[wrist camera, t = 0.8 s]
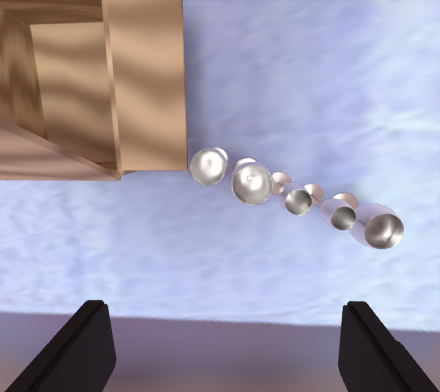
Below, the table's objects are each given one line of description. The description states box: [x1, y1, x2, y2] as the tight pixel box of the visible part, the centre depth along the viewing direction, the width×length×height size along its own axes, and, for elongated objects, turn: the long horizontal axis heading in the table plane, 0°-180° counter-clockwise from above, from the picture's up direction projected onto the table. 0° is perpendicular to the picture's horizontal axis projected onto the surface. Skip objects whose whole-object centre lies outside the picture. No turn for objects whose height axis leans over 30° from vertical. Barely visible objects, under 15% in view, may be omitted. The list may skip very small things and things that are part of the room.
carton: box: [0, 0, 188, 175], centre depth 35 cm, size 22×34×12 cm, turn 90°
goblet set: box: [190, 147, 404, 249], centre depth 36 cm, size 28×6×13 cm, turn 71°
